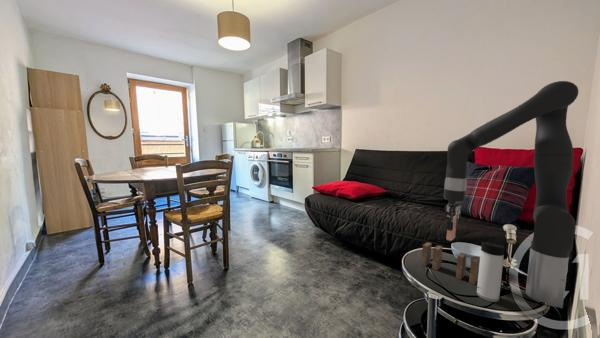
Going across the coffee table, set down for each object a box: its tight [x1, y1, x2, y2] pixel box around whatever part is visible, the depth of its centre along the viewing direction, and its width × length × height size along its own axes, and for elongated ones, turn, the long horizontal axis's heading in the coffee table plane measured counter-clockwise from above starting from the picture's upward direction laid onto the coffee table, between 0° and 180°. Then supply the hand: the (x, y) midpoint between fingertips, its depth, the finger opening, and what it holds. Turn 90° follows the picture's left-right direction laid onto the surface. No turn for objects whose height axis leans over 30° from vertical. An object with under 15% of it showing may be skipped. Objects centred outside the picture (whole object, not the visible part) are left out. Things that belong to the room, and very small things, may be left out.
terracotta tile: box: [445, 216, 457, 242], centre depth 98 cm, size 2×5×10 cm, turn 131°
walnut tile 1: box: [421, 241, 433, 267], centre depth 106 cm, size 2×5×10 cm, turn 130°
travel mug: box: [476, 241, 505, 303], centre depth 83 cm, size 6×7×20 cm
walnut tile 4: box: [468, 256, 480, 286], centre depth 93 cm, size 2×5×10 cm, turn 130°
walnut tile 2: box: [431, 244, 443, 271], centre depth 103 cm, size 2×5×10 cm, turn 130°
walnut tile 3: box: [455, 252, 467, 280], centre depth 96 cm, size 2×5×10 cm, turn 130°
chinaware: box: [450, 241, 481, 269], centre depth 106 cm, size 15×15×8 cm
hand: (451, 228), depth 98 cm, fingers closed on terracotta tile, 5 cm apart
